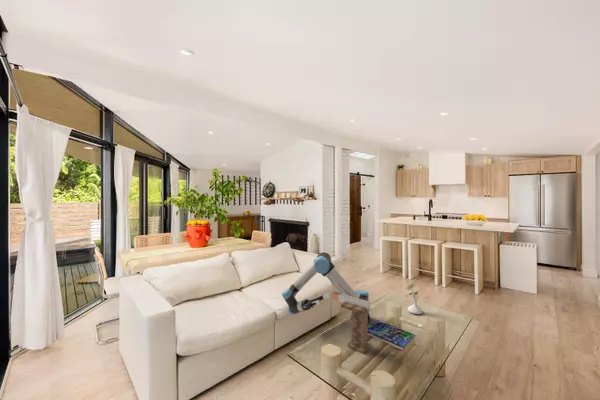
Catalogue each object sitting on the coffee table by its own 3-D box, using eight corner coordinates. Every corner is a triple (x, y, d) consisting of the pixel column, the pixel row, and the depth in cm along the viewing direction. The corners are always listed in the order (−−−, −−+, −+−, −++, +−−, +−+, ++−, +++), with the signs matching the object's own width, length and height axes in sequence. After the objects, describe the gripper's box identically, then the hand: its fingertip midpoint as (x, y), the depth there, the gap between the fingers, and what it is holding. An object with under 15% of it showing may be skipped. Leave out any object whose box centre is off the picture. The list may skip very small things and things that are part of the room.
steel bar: (331, 299, 186) (331, 293, 186) (334, 296, 190) (334, 291, 189) (367, 310, 170) (367, 303, 170) (369, 307, 174) (370, 301, 173)
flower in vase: (418, 308, 229) (419, 280, 227) (425, 315, 218) (426, 285, 216) (403, 308, 229) (404, 280, 227) (409, 315, 218) (410, 285, 216)
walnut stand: (341, 344, 181) (341, 304, 179) (347, 337, 189) (348, 298, 186) (364, 354, 170) (365, 311, 168) (370, 346, 178) (371, 305, 176)
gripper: (315, 304, 213) (335, 297, 201) (296, 317, 193) (317, 310, 181) (311, 294, 215) (331, 287, 203) (291, 306, 195) (312, 299, 183)
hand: (324, 298), depth 192 cm, fingers open, 13 cm apart
